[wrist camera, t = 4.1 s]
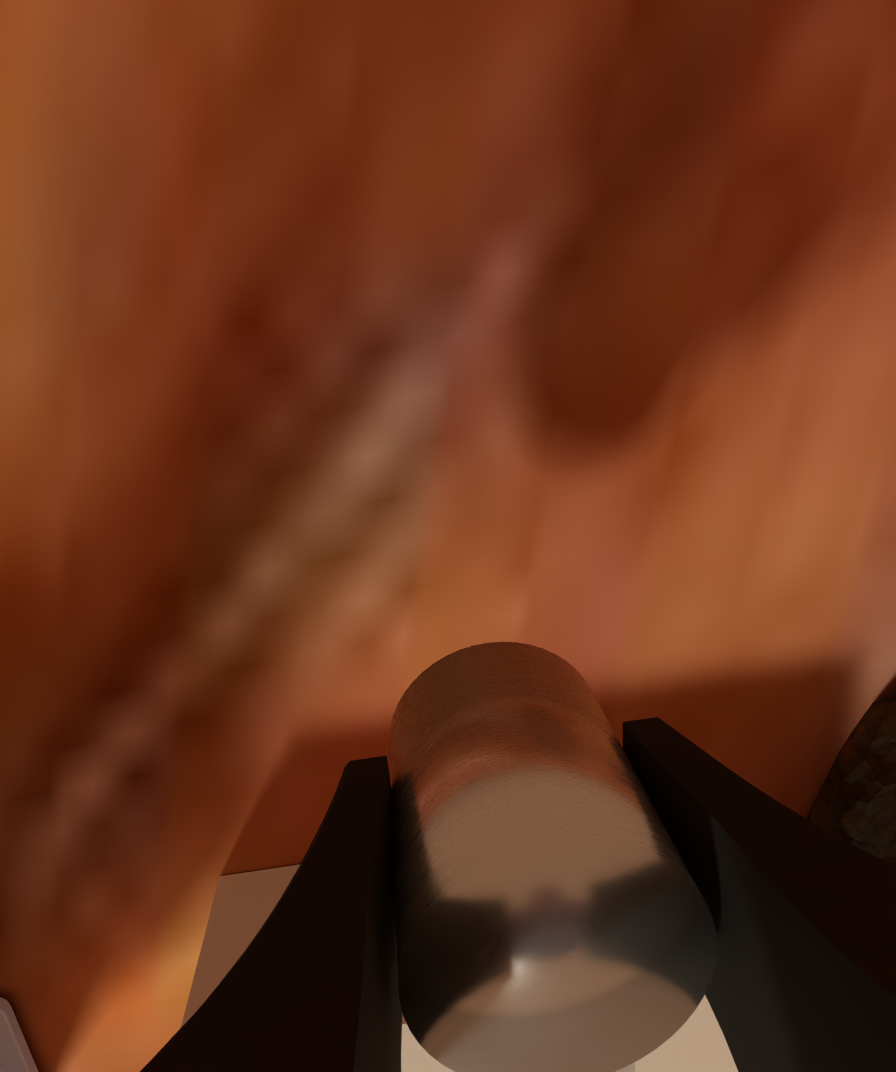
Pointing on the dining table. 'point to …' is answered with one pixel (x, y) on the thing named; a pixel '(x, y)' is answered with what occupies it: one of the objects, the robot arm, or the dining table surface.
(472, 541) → the dining table surface
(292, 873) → the housing
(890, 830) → the hand tool
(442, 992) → the peg
